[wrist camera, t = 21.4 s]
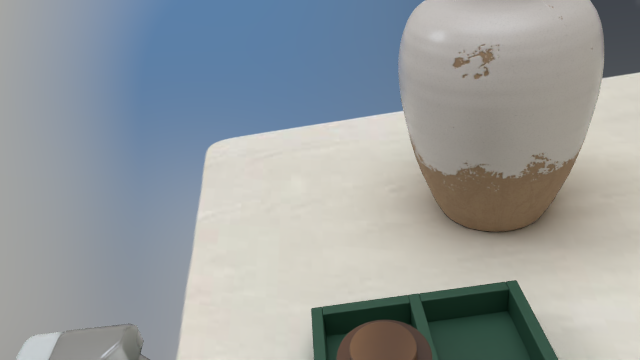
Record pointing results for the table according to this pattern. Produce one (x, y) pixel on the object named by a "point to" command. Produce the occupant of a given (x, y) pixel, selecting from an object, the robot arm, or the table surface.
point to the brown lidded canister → (384, 342)
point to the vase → (499, 102)
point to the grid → (446, 323)
